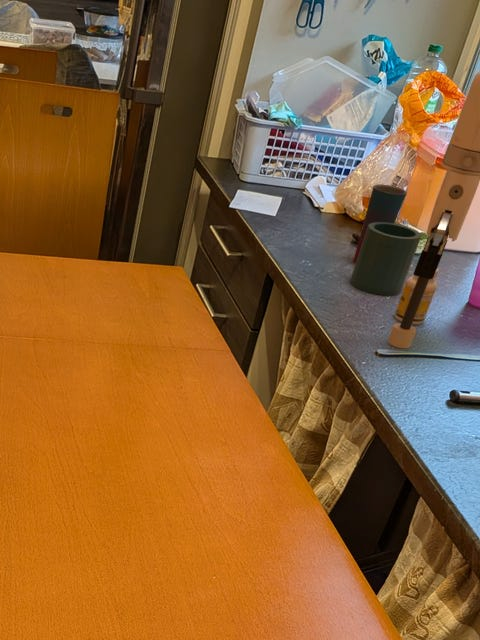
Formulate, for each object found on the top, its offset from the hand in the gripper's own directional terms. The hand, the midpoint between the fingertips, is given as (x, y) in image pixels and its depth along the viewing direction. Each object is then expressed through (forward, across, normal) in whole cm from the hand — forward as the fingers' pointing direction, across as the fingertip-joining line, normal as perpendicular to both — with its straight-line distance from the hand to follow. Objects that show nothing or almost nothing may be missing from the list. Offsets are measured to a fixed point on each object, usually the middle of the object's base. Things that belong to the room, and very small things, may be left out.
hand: (425, 269), depth 158 cm
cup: (+13, +44, +12) cm, 48 cm away
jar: (+13, +30, +8) cm, 34 cm away
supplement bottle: (+13, +14, 0) cm, 20 cm away
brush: (+13, 0, 0) cm, 13 cm away
